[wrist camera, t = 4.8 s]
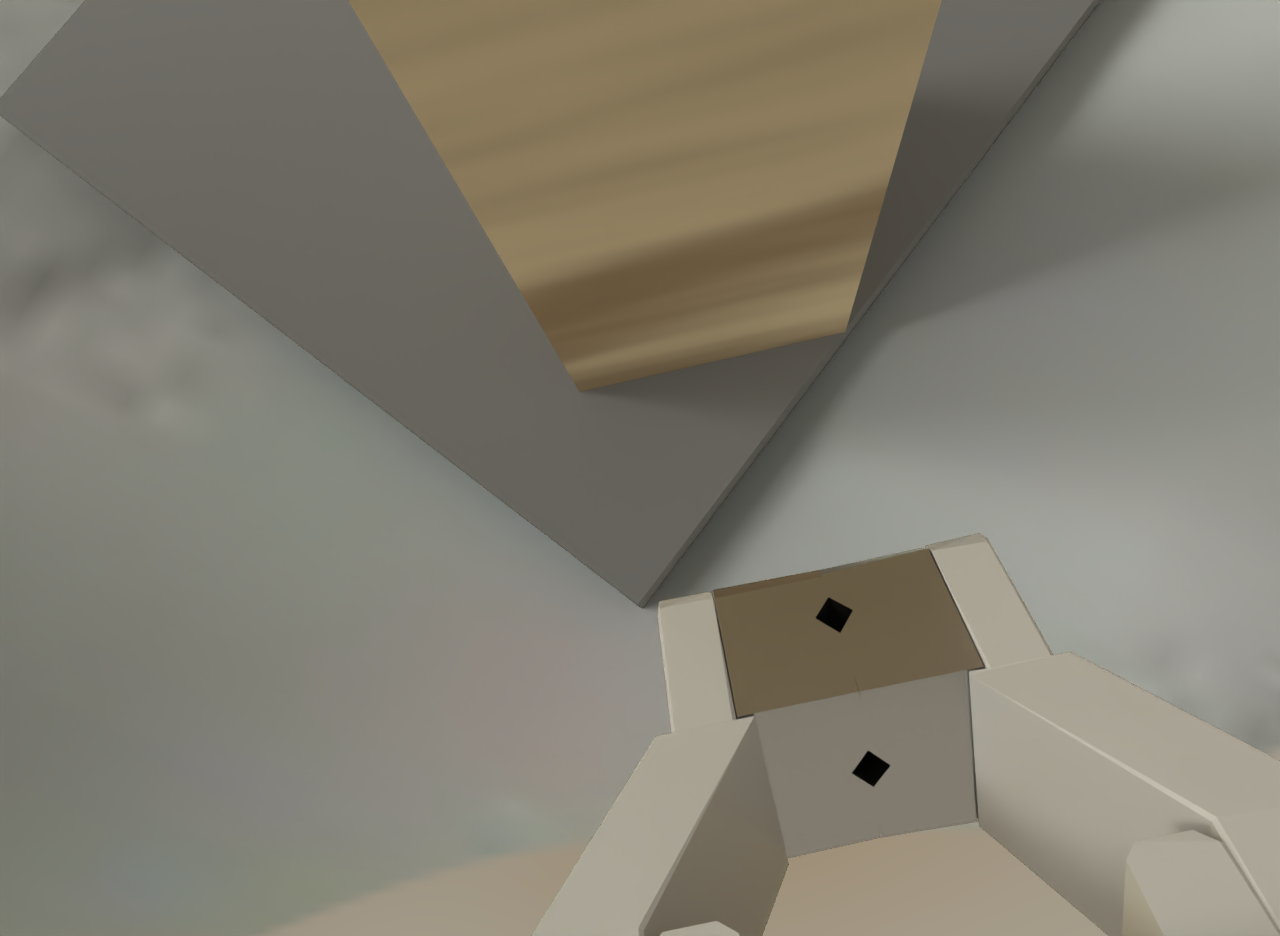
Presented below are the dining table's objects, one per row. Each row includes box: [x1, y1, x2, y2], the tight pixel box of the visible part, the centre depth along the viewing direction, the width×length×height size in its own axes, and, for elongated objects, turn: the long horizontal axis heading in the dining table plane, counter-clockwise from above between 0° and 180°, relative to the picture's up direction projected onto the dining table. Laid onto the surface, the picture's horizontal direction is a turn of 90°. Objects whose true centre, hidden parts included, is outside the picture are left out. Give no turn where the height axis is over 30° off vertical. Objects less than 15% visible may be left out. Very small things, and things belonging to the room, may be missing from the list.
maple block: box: [348, 0, 942, 392], centre depth 14 cm, size 5×5×12 cm
